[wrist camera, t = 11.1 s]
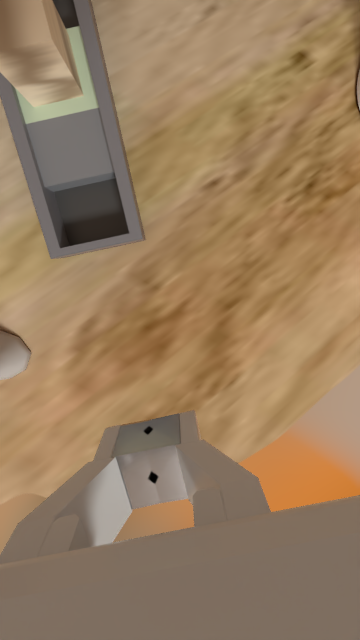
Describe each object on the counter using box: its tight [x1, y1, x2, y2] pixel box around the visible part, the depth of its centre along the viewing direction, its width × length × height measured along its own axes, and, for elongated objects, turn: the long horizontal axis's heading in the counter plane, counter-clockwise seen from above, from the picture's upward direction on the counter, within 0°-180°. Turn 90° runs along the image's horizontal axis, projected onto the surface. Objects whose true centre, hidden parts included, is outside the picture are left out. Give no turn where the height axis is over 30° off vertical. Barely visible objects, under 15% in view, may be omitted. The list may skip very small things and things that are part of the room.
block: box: [0, 0, 84, 107], centre depth 28 cm, size 6×6×9 cm
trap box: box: [0, 0, 146, 259], centre depth 34 cm, size 12×32×4 cm, turn 12°
